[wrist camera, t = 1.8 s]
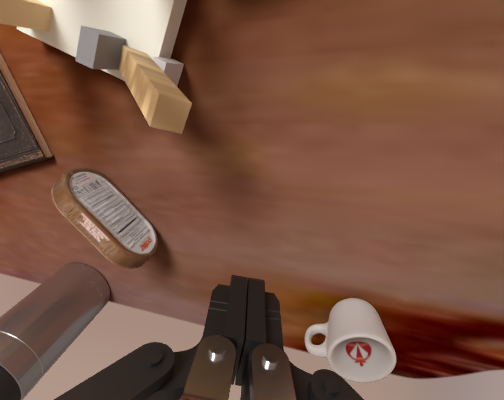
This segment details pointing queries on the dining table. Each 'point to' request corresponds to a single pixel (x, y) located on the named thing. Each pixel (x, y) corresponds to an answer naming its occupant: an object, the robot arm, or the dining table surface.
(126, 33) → the stool
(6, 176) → the dining table surface
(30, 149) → the hardcover book
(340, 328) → the cup
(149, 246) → the tin
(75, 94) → the dining table surface
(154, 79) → the leg
